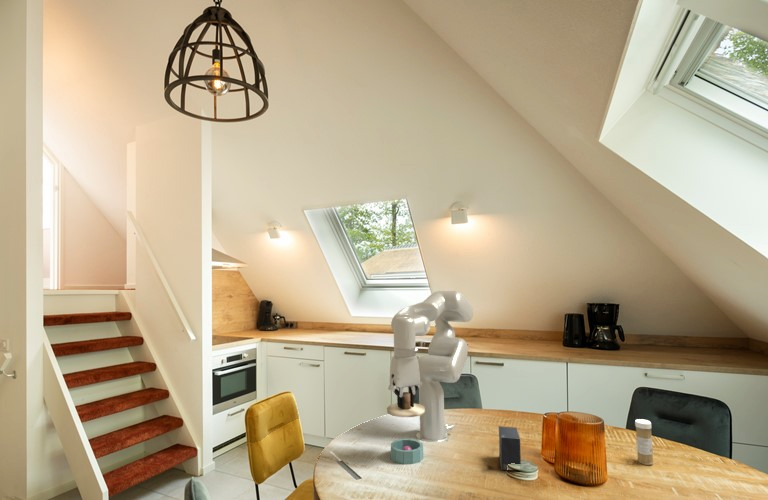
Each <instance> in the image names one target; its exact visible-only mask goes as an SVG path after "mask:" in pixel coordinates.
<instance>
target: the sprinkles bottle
mask: <svg viewBox="0 0 768 500" xmlns="http://www.w3.org/2000/svg"><path fill="white" fill-rule="evenodd" d="M634 425H635V433H636V435H635V436H636V450H637V452H636V453H637V462H638V463H639V464H642V465H646V466H652V465H654V459H653V458H654V457H653V455H654V454H653V437H652V422H651V421H650V420H648V419H643V418H641V419H640V418H639V419H638V418H636V419H635V421H634Z"/></svg>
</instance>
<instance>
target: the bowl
mask: <svg viewBox="0 0 768 500" xmlns="http://www.w3.org/2000/svg"><path fill="white" fill-rule="evenodd" d="M404 446H409V447H411V449H412V450H402V448H403V447H404ZM423 459H424V443H423V442H422V441H421V440H418V439H412V438H399V439H395V440H394V441H392V442H391V443H390V460H391V461H393V462H394V463H396V464H401V465H414V464H418V463H420V462H422V461H423Z"/></svg>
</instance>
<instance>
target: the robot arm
mask: <svg viewBox="0 0 768 500" xmlns="http://www.w3.org/2000/svg"><path fill="white" fill-rule="evenodd" d="M473 316H474V308H473V306H472V304H471V302H470V301H469V300H468V299H467V297H466V296H465V295H464V294H463V293H461V292H460V291H456V290H438V291H434V292H433V293H431V294H430V295H428V297H427V298H426V299H424V300H423V301H422V302H418V303H415V304H411V305H409V306H406V307H404V308H401V310H398V312H397V313H396V314H394V316H393V318H392V319H391V323H390V324H391V325H390V326H391V327H390V328H391V330H392V332H393V356H392V357H391V360H390V367H389V385H388V388H387V389H388V390H389V391H391V392H393V394H395V396H396V400H397V401H396V403H397V405H398V407H399V408H401V409H404V397H403V392H404V388H407V391H408V392H409V393H410V406H411V407H414V403H415V395H416V393H417V390H418V396H419V397H418V398H419V400H418V401H419V402H418V404H420V405H422V406H424V407H425V413H424V414H422V415H420V416H419V431H418V432H417V433H416V434H415V436H416V438H417V440H418V439H419V441H421V442H422V441H423V442H428V443H437V442H438V443H440V442H444V441H445V442H448V441H449V439H450V435H449V433H448V432H449V431H452V430H455V425H454V424H449V425H448V424H447V423H445V398H444V397H445V395H444V394H445V393H444V389H443V387H442V385H441V383H440V382H442V383H453V384H454V383H456V382H458V381H459V380H460V378H461V375H462V372H463V369H464V366H465V364H466V361H467V358H468V351H469V348H468V347H469V346H468V343H467V341H465V339H463V338H461V337H456V332H455V330H454V328H453V326H452V325H451V324H450V323H449V322H452V323H453V322H456V323H458V322H459V323H468V322H470V321H472V319H473ZM433 321H434V324H435V332H434V334H433V336H432V338H431V340H430V343H429V345H428V348H427V349H428V350H427V353H428V354H423V355H421V356H420V357H418V356H416V355H417V354H416V353H418V352H419V348H416V337H423V336H425V335H427V334H428V333H429V331H430V329H431V322H433Z"/></svg>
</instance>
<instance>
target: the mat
mask: <svg viewBox="0 0 768 500" xmlns="http://www.w3.org/2000/svg"><path fill="white" fill-rule="evenodd" d="M336 463H337V464H338V465H340V466H341V468H342V469H344V470H345V471H346V472H348V474H349V475H351V476H352V477H353V478H354V479H355V480H356V481H357V480H360V479H362V477H361V476H360V475H359V474H358V473H357V472H356V471H354V470H353V469H352V468H351V467H350V466H349V465H348V464H346V463H345V462H344V460H342V459H341V460H337V461H336Z"/></svg>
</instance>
